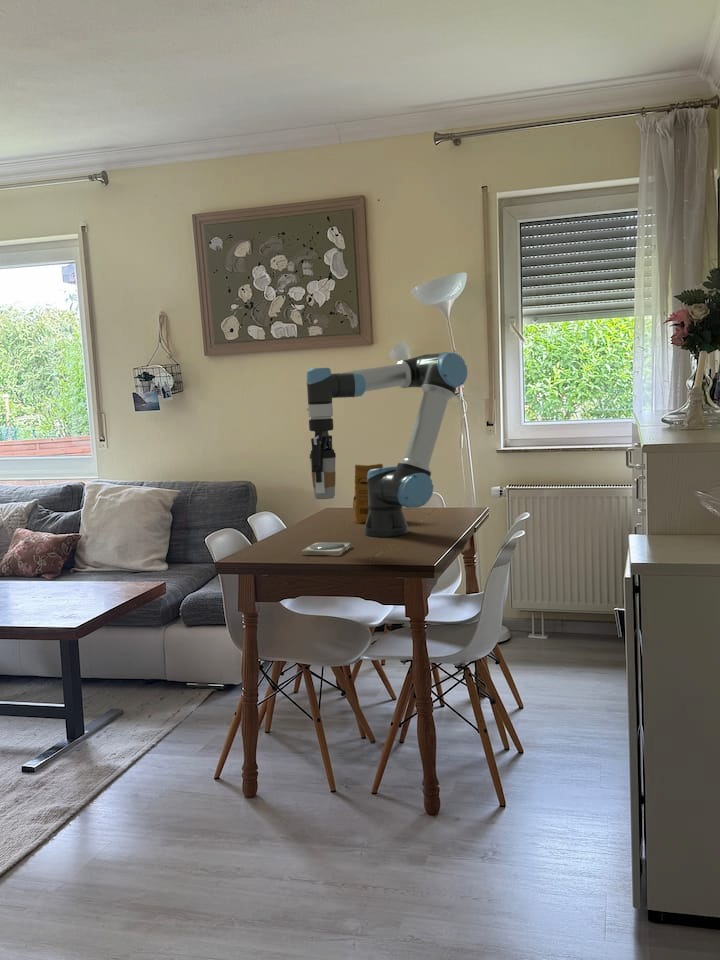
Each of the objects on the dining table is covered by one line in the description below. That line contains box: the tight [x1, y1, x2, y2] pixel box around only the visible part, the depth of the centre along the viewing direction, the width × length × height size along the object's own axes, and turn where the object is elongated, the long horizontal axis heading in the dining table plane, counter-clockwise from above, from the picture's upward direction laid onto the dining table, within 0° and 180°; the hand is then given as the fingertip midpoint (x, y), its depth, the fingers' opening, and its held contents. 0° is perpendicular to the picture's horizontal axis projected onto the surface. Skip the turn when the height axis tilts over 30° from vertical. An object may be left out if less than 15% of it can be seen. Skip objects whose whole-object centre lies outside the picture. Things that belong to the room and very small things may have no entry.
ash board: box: [301, 541, 353, 557], centre depth 270 cm, size 14×12×2 cm
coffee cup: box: [309, 449, 337, 500], centre depth 268 cm, size 8×8×15 cm
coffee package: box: [352, 463, 384, 524], centre depth 326 cm, size 10×12×22 cm
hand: (324, 491), depth 268 cm, fingers closed on coffee cup, 7 cm apart
